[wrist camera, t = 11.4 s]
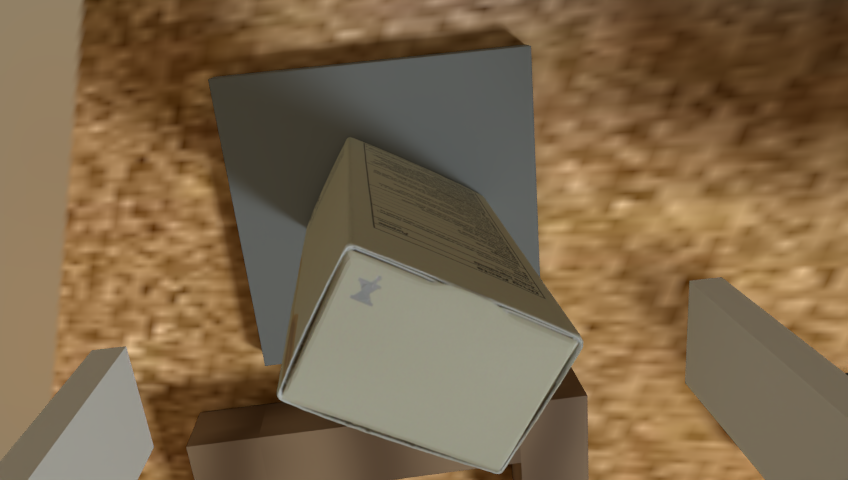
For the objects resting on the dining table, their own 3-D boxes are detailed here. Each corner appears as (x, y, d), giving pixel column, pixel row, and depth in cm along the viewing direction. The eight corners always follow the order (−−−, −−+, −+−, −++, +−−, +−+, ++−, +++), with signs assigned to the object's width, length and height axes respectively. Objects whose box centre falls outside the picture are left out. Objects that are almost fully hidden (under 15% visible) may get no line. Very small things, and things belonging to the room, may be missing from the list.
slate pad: (525, 44, 26) (530, 46, 25) (536, 321, 30) (541, 331, 29) (214, 76, 25) (208, 79, 24) (268, 354, 29) (265, 365, 28)
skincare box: (303, 229, 27) (255, 399, 15) (348, 131, 25) (332, 233, 14) (447, 289, 28) (503, 487, 16) (495, 198, 27) (592, 343, 15)
